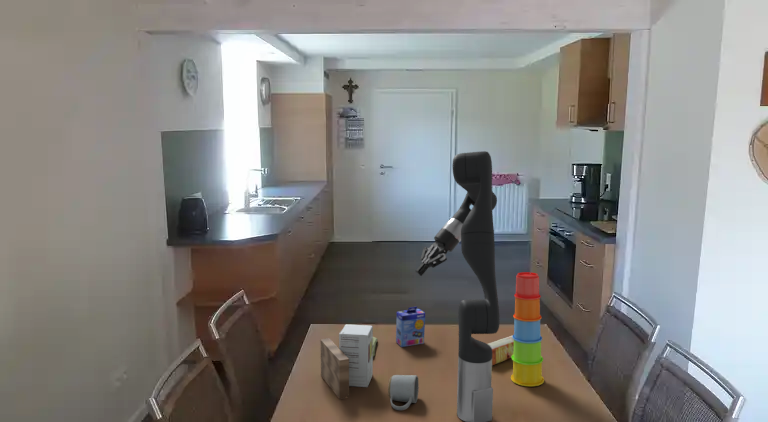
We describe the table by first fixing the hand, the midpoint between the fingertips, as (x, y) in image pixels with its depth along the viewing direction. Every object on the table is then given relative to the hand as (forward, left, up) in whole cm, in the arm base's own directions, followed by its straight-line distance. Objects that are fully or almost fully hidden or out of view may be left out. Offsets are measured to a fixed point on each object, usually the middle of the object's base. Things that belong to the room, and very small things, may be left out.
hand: (418, 273), depth 185 cm
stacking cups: (-24, -27, -32) cm, 48 cm away
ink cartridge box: (+19, -7, -32) cm, 38 cm away
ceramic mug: (-21, +15, -32) cm, 41 cm away
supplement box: (-2, +23, -32) cm, 39 cm away
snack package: (-6, -31, -32) cm, 45 cm away
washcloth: (+21, +13, -33) cm, 41 cm away
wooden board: (-3, +30, -32) cm, 44 cm away
